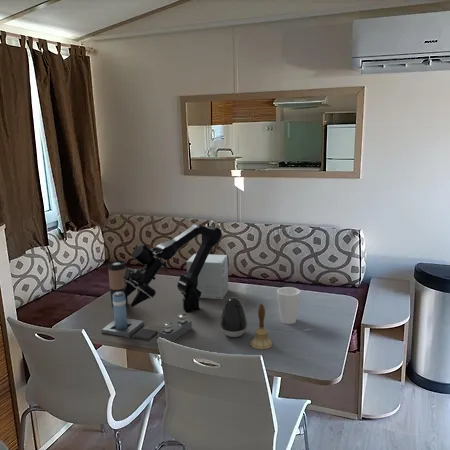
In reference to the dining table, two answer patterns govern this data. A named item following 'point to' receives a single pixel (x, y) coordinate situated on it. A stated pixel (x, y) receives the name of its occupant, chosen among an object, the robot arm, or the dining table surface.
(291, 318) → the foam cup
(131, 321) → the socket plate
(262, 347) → the hand bell
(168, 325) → the plunger
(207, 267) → the supplement box
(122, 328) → the cartridge
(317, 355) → the dining table surface
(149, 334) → the mat
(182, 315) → the plunger
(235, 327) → the dark egg shaped device
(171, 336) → the bar
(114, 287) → the travel mug
